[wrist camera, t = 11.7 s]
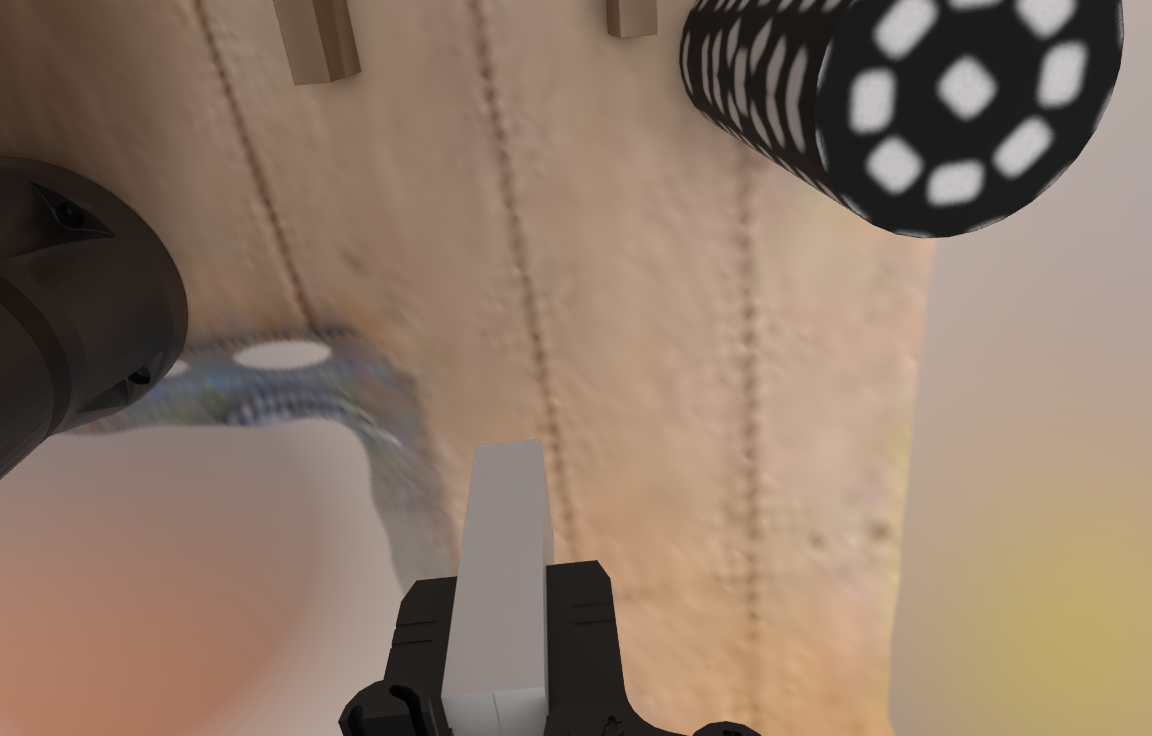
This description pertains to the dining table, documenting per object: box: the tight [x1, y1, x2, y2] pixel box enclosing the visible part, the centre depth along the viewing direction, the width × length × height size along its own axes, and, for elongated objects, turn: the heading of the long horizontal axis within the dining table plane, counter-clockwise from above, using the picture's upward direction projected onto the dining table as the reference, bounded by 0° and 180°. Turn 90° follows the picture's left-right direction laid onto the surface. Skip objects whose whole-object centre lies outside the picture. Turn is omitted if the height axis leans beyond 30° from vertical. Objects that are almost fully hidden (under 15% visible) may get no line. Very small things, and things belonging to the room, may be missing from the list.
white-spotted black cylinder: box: [679, 0, 1124, 238], centre depth 28 cm, size 8×8×20 cm
